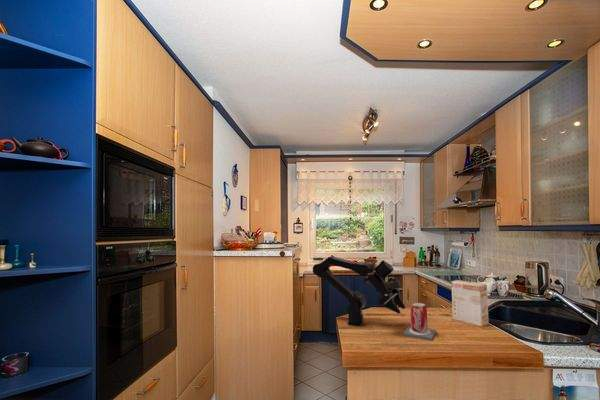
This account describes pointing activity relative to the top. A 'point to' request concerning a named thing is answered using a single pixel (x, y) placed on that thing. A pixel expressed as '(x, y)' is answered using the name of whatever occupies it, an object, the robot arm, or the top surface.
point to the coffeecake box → (470, 302)
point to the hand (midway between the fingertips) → (402, 310)
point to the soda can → (418, 318)
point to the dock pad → (420, 334)
